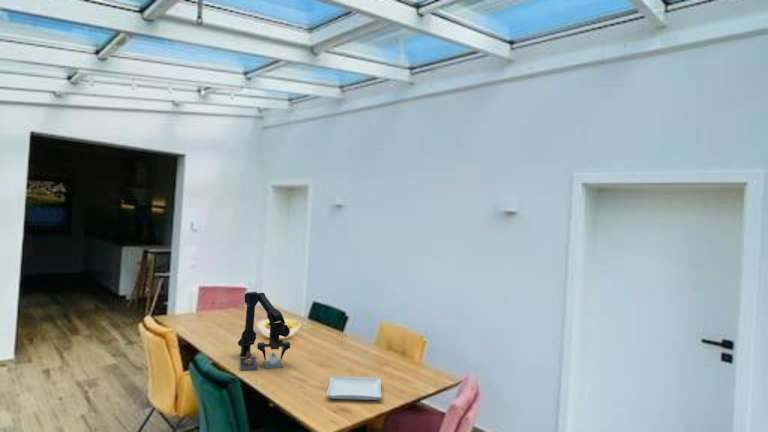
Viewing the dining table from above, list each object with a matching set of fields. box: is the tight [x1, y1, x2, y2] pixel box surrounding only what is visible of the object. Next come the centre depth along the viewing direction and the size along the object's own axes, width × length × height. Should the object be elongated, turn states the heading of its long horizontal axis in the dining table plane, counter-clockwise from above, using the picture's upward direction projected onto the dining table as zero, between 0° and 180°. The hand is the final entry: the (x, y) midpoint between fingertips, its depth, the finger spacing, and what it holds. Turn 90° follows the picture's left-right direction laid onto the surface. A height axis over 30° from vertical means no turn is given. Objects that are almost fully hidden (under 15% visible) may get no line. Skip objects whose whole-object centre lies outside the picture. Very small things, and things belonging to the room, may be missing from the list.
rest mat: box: [263, 359, 284, 370], centre depth 273 cm, size 13×10×1 cm
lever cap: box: [268, 352, 278, 366], centre depth 273 cm, size 6×4×6 cm, turn 18°
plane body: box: [239, 350, 258, 372], centre depth 268 cm, size 16×9×6 cm, turn 18°
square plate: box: [326, 376, 383, 401], centre depth 237 cm, size 27×27×4 cm
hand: (273, 360), depth 273 cm, fingers open, 9 cm apart
